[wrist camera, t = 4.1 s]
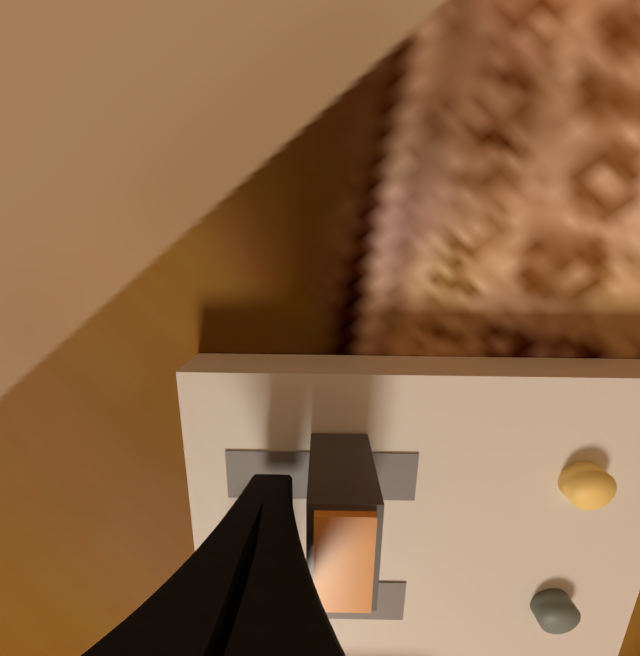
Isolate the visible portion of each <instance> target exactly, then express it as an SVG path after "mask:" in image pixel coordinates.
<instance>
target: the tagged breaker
mask: <svg viewBox="0 0 640 656" xmlns="http://www.w3.org/2000/svg"><path fill="white" fill-rule="evenodd" d="M383 518H384V501H383V497H382V493H381V488H380V484H379V480H378V476H377V472H376V467H375V463H374V459H373V455H372V450H371V446H370V442H369V438H368V434H326V433H311V440H310V455H309V470H308V485H307V500H306V562H307V565H308V568H309V571H310V574H311V576H312V579H313V582H314V585H315V587H316V590H317V592H318V595H319V598H320V600H321V603H322V605H323V607H324V610H325V612H331V613H371V611H377V601H378V587H379V573H380V560H381V546H382V532H383Z"/></svg>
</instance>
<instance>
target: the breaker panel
mask: <svg viewBox="0 0 640 656" xmlns="http://www.w3.org/2000/svg"><path fill="white" fill-rule="evenodd" d="M176 378H177V388H178V397H179V406H180V416H181V425H182V434H183V444H184V453H185V463H186V472H187V481H188V491H189V500H190V509H191V519H192V528H193V538H194V547H195V551H196V550H197V549H198V548H199V546H200V545H201V544H202V543H203V542H204V541H205V539H206V538H207V537H208V536H209V535H210V533H211V532H212V531H213V530H214V529H215V528H216V526H217V525H218V524H219V523H220V521H221V520H222V519H223V517H224V516H225V515H226V513H227V512H228V511H229V509H230V508H231V507H232V506H233V504H234V503H235V501H236V500H237V499H238V497H239V496H240V494H241V493H242V492H243V490H244V489H245V487H246V486H247V484H248V483H249V481H250V479H251V478H252V477H253V476H254V475H255V474H285V475H290V476H291V477H292V486H293V510H294V515H295V520H296V525H297V529H298V534H299V537H300V541H301V545H302V548H303V552H304V555H305V558H306V500H307V485H308V470H309V455H310V440H311V433H326V434H368V438H369V442H370V446H371V450H372V455H373V459H374V463H375V467H376V472H377V476H378V480H379V484H380V488H381V493H382V497H383V501H384V518H383V532H382V546H381V560H380V573H379V587H378V601H377V611H371V613H331V612H326V614H327V616H328V619H329V621H330V623H331V625H332V627H333V630H334V632H335V634H336V636H337V639H338V641H339V643H340V645H341V647H342V649H343V651H344V653H345V655H346V656H618V654H619V651H620V648H621V645H622V642H623V639H624V636H625V633H626V630H627V627H628V624H629V621H630V618H631V615H632V612H633V609H634V606H635V603H636V600H637V597H638V594H639V591H640V359H600V358H525V357H449V356H373V355H297V354H222V353H198V354H197V355H195V356H194V357H193V358H192V359H191V360H189V361H188V362H187V363H186V364H185V365H184V366H182V367H181V368H180V369H179V370H178V371H177V372H176Z"/></svg>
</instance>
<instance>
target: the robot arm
mask: <svg viewBox="0 0 640 656" xmlns="http://www.w3.org/2000/svg"><path fill="white" fill-rule="evenodd" d="M81 656H346V655H345V653H344V651H343V649H342V647H341V645H340V643H339V641H338V639H337V636H336V634H335V632H334V630H333V627H332V625H331V623H330V621H329V619H328V616H327V614H326V612H325V610H324V607H323V605H322V603H321V600H320V598H319V595H318V592H317V590H316V587H315V585H314V582H313V579H312V576H311V574H310V571H309V568H308V565H307V562H306V558H305V555H304V552H303V548H302V545H301V541H300V537H299V534H298V529H297V525H296V520H295V515H294V510H293V486H292V477H291V476H290V475H285V474H255V475H254V476H253V477H252V478H251V479H250V481H249V483H248V484H247V486H246V487H245V489H244V490H243V492H242V493H241V494H240V496H239V497H238V499H237V500H236V501H235V503H234V504H233V506H232V507H231V508H230V509H229V511H228V512H227V513H226V515H225V516H224V517H223V519H222V520H221V521H220V523H219V524H218V525H217V526H216V528H215V529H214V530H213V531H212V532H211V533H210V535H209V536H208V537H207V538H206V539H205V541H204V542H203V543H202V544H201V545H200V546H199V548H198V549H197V550H196V551H195V552H194V553H193V554H192V555H191V557H190V558H189V559H188V560H187V561H186V562H185V563H184V564H183V565H182V566H181V567H180V568H179V569H178V570H177V571H176V572H175V573H174V574H173V575H172V576H171V577H170V578H169V579H168V580H167V581H166V582H165V583H164V584H163V585H162V586H161V587H160V588H159V589H158V590H157V591H156V592H155V593H154V594H153V595H152V596H151V597H150V598H149V599H147V600H146V601H145V602H144V603H143V604H142V605H141V606H140V607H139V608H138V609H137V610H135V611H134V612H133V613H132V614H131V615H130V616H129V617H127V618H126V619H125V620H124V621H123V622H122V623H120V624H119V625H118V626H117V627H115V628H114V629H113V630H112V631H111V632H109V633H108V634H107V635H106V636H105V637H103V638H102V639H101V640H100V641H99V642H97V643H96V644H95V645H94V646H92V647H91V648H90V649H89V650H88V651H86V652H85V653H84V654H82V655H81Z"/></svg>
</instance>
